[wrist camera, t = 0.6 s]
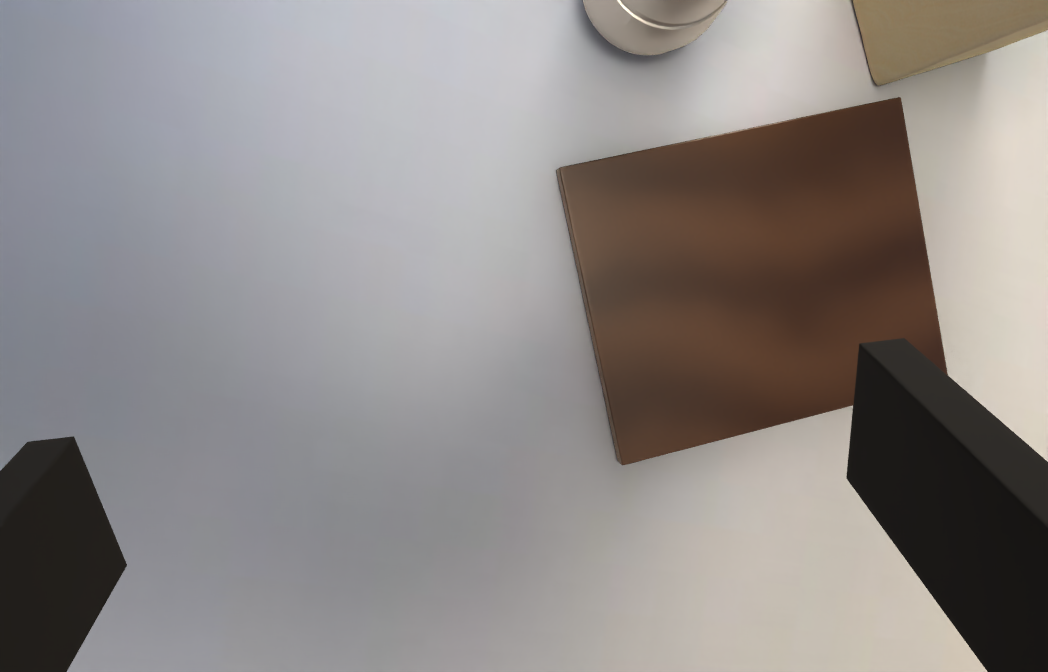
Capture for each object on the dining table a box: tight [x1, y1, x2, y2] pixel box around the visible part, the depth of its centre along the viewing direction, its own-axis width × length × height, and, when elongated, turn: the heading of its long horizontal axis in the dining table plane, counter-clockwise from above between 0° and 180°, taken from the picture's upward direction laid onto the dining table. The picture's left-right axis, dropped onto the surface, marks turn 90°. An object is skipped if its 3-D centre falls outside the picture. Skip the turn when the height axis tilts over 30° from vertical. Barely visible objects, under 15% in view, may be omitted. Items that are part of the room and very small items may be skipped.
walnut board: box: [556, 97, 948, 465], centre depth 37 cm, size 14×17×1 cm
